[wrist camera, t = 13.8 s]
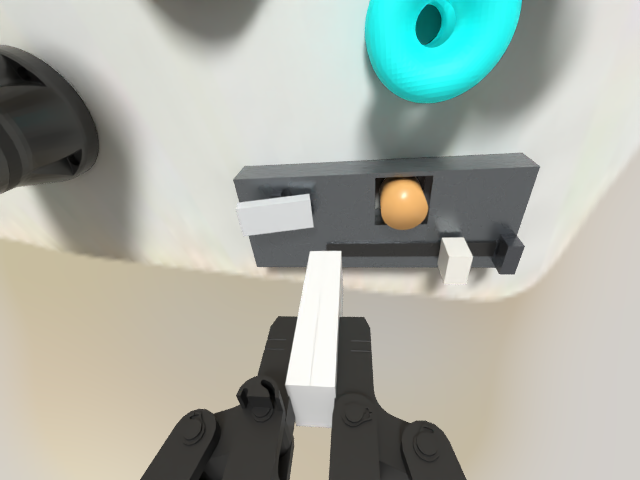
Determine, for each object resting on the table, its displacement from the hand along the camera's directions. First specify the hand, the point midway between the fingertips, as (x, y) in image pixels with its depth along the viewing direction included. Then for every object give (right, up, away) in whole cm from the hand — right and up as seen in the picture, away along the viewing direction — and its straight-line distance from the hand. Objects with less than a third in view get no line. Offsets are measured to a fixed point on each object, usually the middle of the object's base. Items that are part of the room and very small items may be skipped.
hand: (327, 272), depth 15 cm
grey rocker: (-5, +4, +19) cm, 20 cm away
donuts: (+9, +21, +13) cm, 26 cm away
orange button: (+9, +7, +21) cm, 24 cm away
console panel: (+7, +6, +24) cm, 25 cm away
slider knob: (+15, 0, +21) cm, 26 cm away
